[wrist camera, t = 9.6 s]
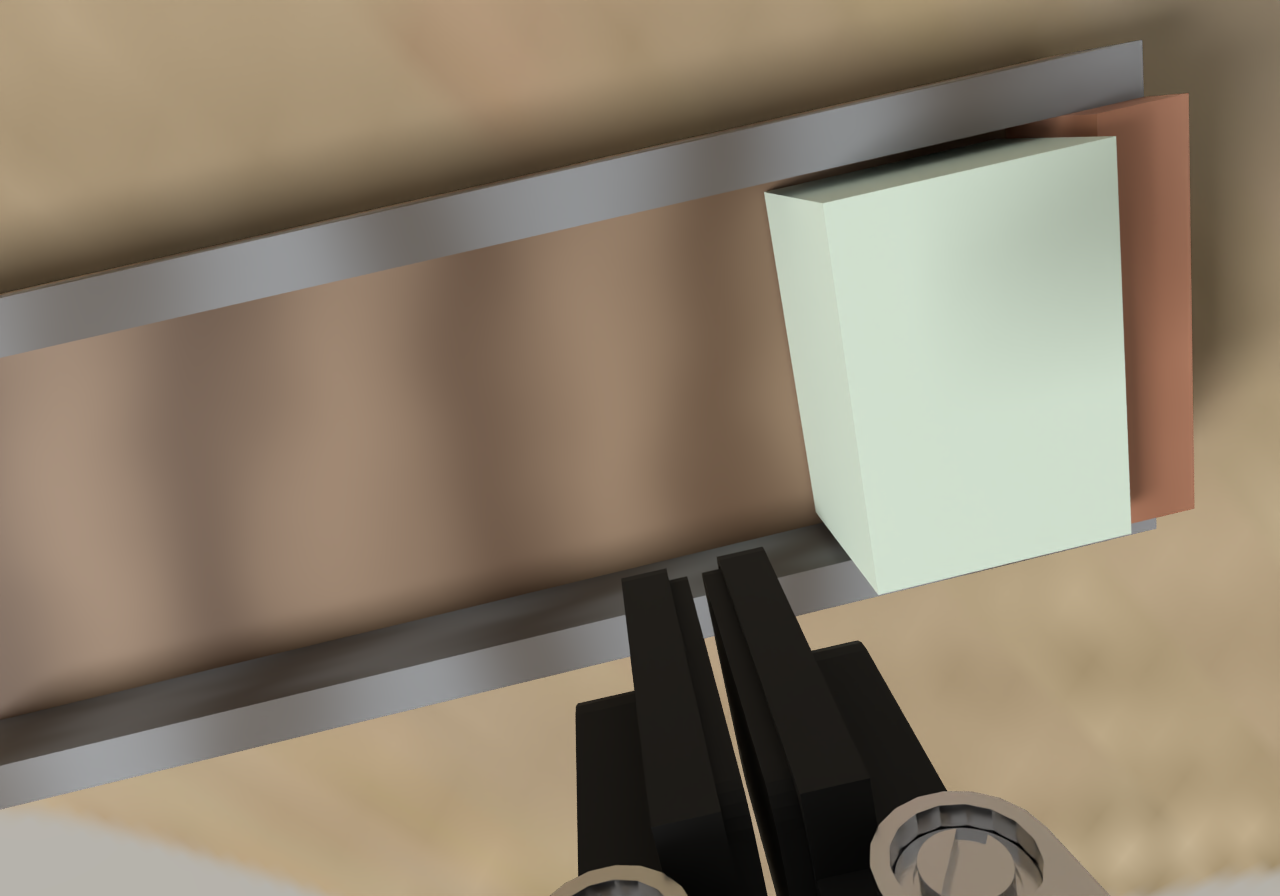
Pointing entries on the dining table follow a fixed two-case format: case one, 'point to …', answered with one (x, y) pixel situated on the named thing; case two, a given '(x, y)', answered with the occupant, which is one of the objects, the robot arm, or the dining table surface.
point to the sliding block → (960, 354)
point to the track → (474, 428)
